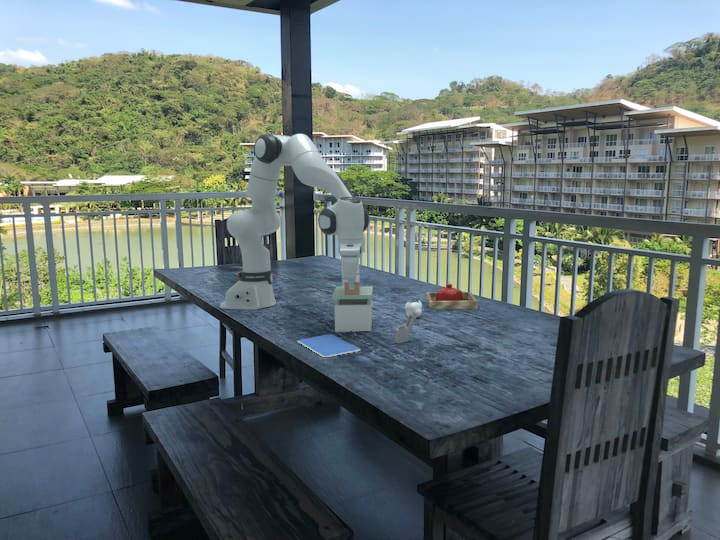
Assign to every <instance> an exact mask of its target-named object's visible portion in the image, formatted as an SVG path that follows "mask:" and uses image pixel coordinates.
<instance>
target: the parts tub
mask: <svg viewBox="0 0 720 540" xmlns="http://www.w3.org/2000/svg"><path fill="white" fill-rule="evenodd" d="M333 306H334V331H335V333H347V332H348V333H350V331H352V332H353V333H359V331H371V332H372V325H373V298H372V299H335V303H334V305H333ZM356 331H357V332H356ZM352 332H351V333H352Z"/></svg>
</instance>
